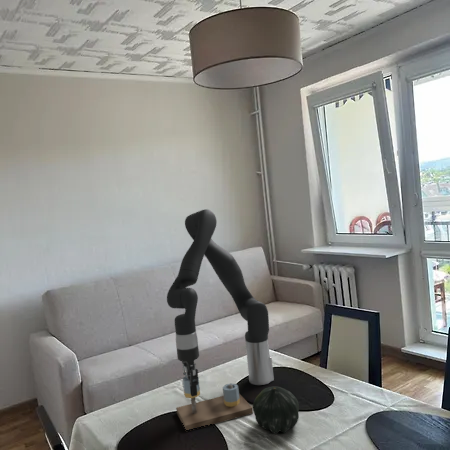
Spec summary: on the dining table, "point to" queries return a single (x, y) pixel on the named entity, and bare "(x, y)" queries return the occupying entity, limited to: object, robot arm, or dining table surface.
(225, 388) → the seated sleeve
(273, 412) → the squash
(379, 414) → the dining table surface
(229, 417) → the pin board
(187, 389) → the slate sleeve
